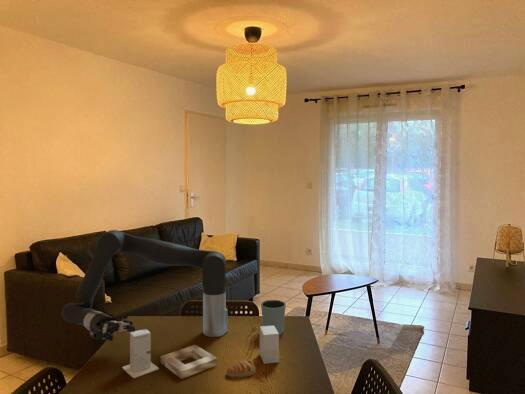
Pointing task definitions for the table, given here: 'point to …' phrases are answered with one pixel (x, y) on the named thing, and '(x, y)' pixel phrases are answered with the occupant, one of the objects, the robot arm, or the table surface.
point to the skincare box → (140, 350)
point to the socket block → (185, 370)
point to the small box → (269, 344)
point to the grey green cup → (273, 314)
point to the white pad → (140, 372)
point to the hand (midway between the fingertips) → (123, 334)
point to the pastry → (241, 369)
